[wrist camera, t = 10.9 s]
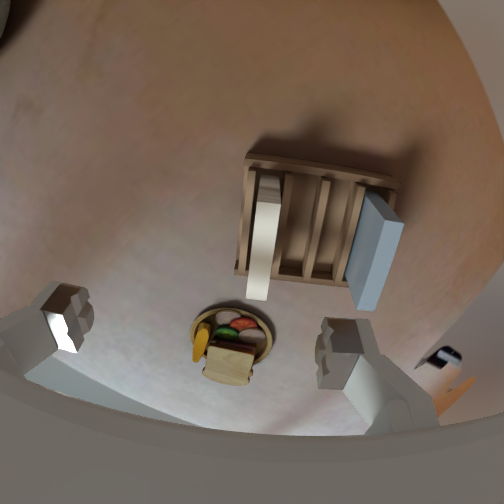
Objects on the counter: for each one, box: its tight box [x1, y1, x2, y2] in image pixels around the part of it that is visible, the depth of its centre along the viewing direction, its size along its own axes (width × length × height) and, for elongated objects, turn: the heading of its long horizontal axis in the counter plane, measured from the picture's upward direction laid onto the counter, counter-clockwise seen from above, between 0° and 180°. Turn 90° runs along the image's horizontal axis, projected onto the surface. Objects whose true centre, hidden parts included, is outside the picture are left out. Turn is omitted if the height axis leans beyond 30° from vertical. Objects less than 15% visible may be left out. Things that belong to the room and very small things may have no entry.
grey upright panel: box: [344, 190, 404, 311], centre depth 33 cm, size 10×2×9 cm, turn 174°
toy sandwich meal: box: [190, 308, 273, 386], centre depth 46 cm, size 12×14×5 cm
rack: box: [234, 153, 401, 301], centre depth 33 cm, size 14×17×10 cm
